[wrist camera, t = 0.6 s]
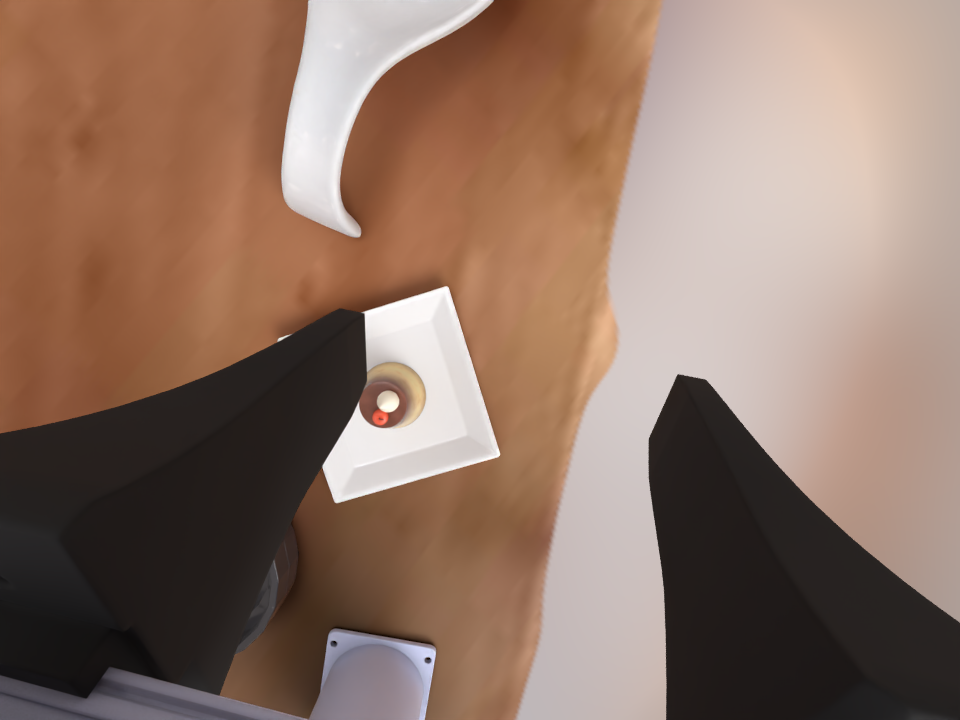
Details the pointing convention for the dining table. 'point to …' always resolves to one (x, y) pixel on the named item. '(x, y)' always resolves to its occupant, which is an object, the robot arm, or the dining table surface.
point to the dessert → (412, 402)
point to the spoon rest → (349, 87)
